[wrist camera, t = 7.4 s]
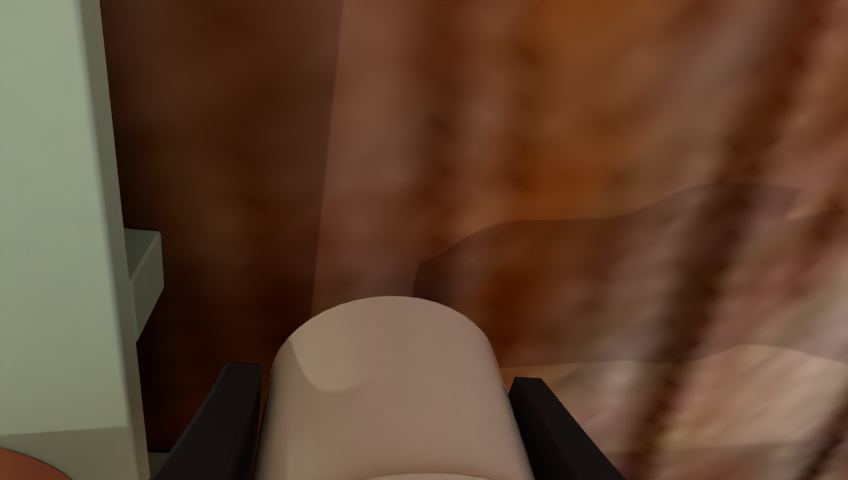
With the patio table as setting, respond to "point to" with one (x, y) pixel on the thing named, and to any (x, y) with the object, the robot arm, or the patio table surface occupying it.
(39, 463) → the terracotta pot
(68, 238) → the sage green baseplate
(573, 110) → the patio table surface
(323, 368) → the cream pot
